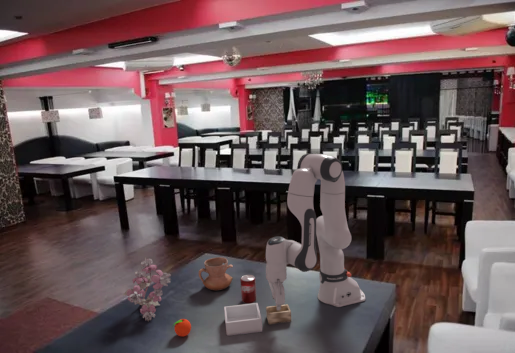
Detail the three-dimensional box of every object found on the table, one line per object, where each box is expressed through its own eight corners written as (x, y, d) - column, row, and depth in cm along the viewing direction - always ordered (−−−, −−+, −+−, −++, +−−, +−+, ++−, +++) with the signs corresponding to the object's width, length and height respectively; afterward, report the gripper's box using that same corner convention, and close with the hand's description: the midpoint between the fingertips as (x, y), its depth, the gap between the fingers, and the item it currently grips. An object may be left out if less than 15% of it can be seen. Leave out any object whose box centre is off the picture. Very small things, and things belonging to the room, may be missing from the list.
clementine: (174, 342, 159) (173, 327, 158) (171, 333, 166) (169, 318, 164) (193, 337, 162) (192, 321, 161) (189, 328, 169) (188, 313, 167)
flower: (107, 316, 179) (117, 276, 168) (137, 288, 199) (147, 251, 188) (143, 338, 175) (155, 299, 164) (170, 308, 195) (182, 271, 185)
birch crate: (288, 314, 176) (288, 304, 175) (291, 321, 170) (290, 311, 169) (266, 316, 174) (266, 306, 173) (268, 324, 168) (268, 314, 167)
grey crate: (258, 314, 176) (257, 302, 175) (262, 331, 164) (261, 318, 162) (225, 318, 174) (224, 306, 173) (226, 336, 162) (225, 323, 161)
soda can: (254, 304, 185) (253, 281, 182) (240, 304, 186) (238, 280, 184) (257, 297, 192) (256, 274, 189) (243, 296, 193) (242, 274, 191)
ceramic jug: (233, 278, 213) (231, 254, 210) (235, 291, 199) (233, 265, 196) (200, 282, 211) (197, 258, 208) (200, 295, 197) (197, 269, 194)
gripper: (288, 285, 158) (288, 316, 160) (279, 264, 177) (279, 292, 180) (273, 286, 157) (273, 317, 159) (265, 265, 177) (265, 293, 179)
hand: (276, 303), depth 170 cm, fingers open, 8 cm apart
